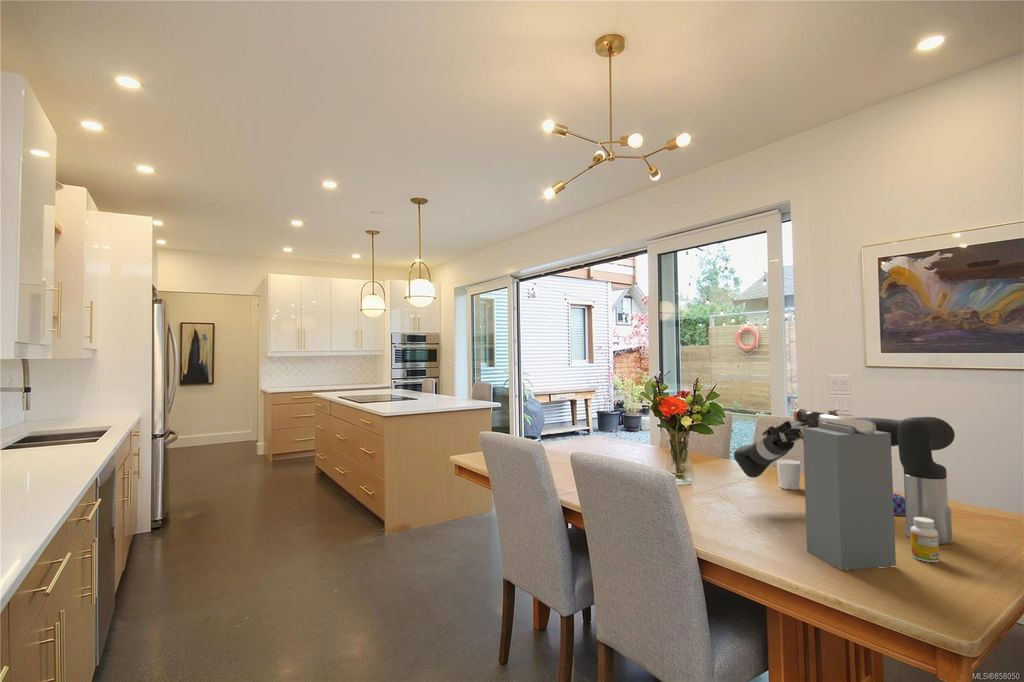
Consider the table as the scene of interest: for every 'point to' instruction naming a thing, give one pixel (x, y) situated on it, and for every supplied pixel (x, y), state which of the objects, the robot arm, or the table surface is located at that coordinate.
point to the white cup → (788, 474)
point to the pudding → (898, 504)
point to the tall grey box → (849, 497)
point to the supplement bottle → (924, 540)
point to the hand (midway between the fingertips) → (803, 423)
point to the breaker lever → (834, 421)
